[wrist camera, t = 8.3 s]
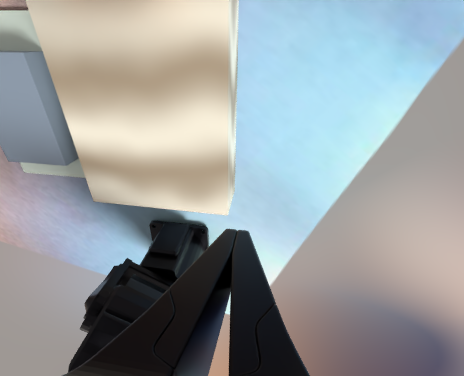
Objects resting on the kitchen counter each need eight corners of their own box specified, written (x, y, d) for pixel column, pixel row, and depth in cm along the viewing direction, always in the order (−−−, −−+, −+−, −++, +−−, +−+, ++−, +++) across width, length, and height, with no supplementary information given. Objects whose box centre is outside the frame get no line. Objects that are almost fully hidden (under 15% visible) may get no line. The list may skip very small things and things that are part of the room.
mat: (113, 179, 25) (111, 180, 25) (26, 171, 26) (24, 172, 26) (67, 10, 18) (64, 10, 18) (-50, 10, 19) (-54, 10, 19)
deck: (234, 190, 24) (227, 215, 20) (118, 179, 25) (93, 201, 22) (241, -126, 13) (229, -182, 10) (41, -113, 15) (-29, -158, 11)
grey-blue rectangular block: (8, 161, 23) (26, 152, 25) (66, 165, 22) (81, 156, 24) (-48, 51, 18) (-21, 50, 20) (23, 52, 18) (45, 51, 19)
